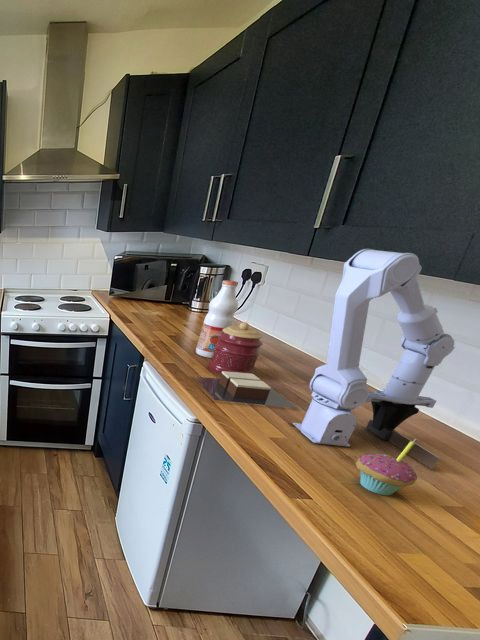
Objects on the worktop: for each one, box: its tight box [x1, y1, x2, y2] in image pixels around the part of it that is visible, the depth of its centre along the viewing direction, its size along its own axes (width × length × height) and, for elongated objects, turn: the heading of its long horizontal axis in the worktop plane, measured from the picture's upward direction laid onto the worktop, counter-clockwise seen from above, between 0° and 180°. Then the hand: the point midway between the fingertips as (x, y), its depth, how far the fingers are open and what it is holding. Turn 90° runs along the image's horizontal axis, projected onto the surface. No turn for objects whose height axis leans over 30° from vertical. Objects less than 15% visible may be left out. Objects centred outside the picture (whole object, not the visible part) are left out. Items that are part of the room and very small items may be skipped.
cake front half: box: [227, 379, 272, 400], centre depth 119 cm, size 5×9×4 cm, turn 81°
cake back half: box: [219, 371, 261, 389], centre depth 124 cm, size 5×9×4 cm, turn 81°
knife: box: [365, 419, 440, 470], centre depth 95 cm, size 18×2×3 cm, turn 171°
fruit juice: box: [195, 279, 239, 359], centre depth 149 cm, size 9×9×28 cm
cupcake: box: [355, 438, 418, 496], centre depth 79 cm, size 9×8×12 cm
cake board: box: [193, 376, 298, 409], centre depth 122 cm, size 18×22×1 cm
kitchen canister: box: [208, 321, 264, 375], centre depth 135 cm, size 13×13×18 cm
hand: (381, 428), depth 101 cm, fingers closed on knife, 2 cm apart
